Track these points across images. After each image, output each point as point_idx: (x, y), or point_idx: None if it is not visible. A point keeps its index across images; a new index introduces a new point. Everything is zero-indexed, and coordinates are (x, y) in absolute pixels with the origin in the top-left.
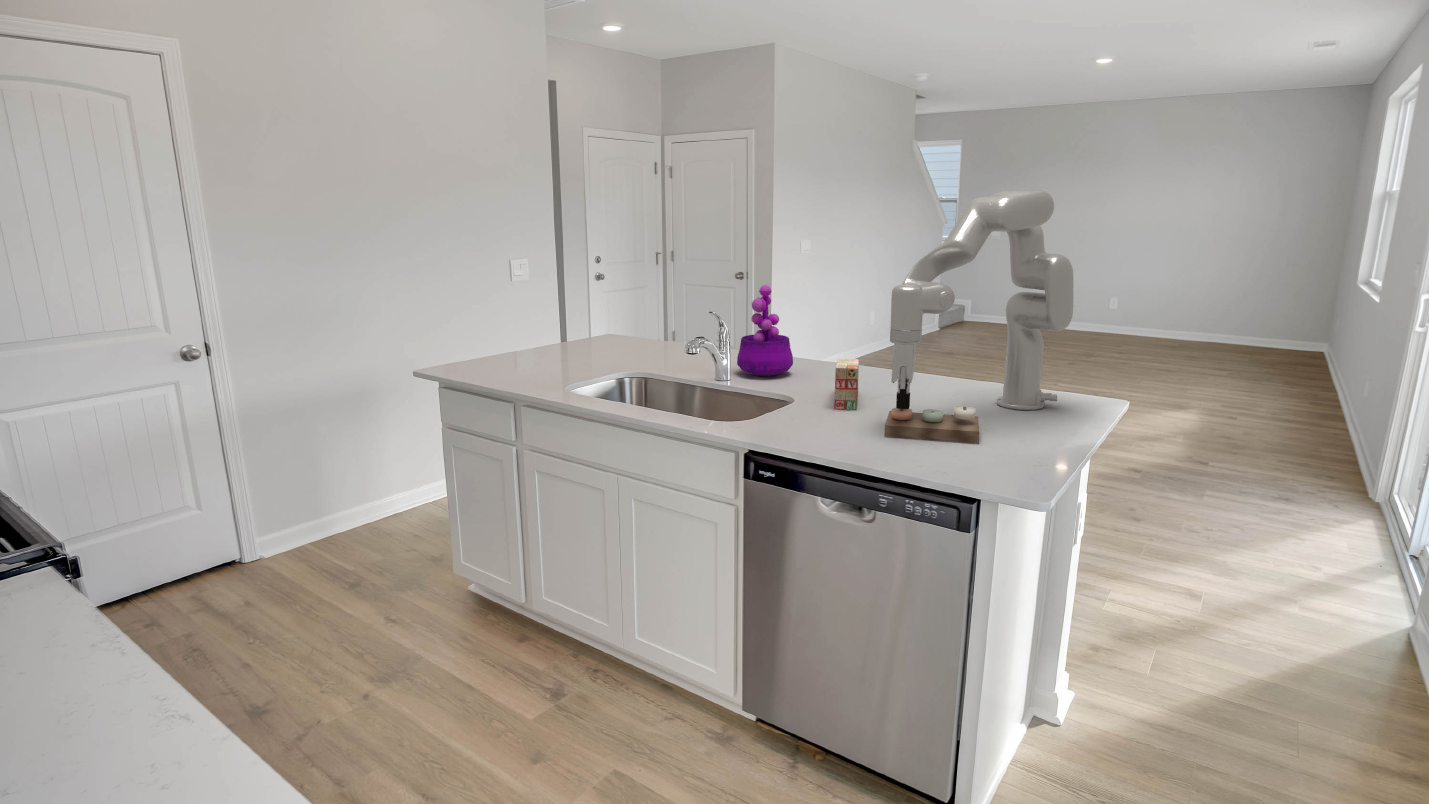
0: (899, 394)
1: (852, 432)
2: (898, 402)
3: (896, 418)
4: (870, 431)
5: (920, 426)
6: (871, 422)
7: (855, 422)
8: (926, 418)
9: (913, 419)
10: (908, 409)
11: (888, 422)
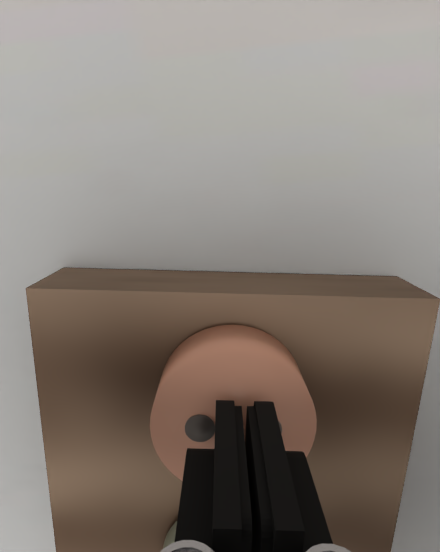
0: (213, 542)
1: (100, 53)
2: (212, 452)
3: (167, 365)
4: (158, 176)
5: (74, 492)
6: (374, 166)
7: (360, 49)
8: (171, 543)
9: None
10: None
11: (107, 308)
